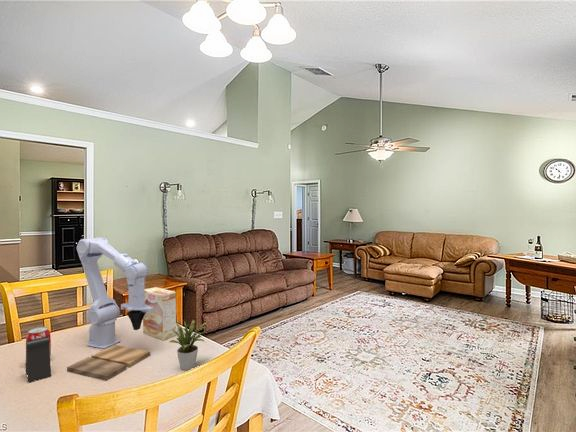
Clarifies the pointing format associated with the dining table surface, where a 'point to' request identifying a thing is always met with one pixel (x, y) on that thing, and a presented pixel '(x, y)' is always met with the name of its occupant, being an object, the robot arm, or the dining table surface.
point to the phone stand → (38, 359)
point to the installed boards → (96, 368)
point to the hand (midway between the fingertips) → (136, 329)
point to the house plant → (187, 345)
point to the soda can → (39, 335)
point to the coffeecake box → (160, 313)
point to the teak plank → (122, 355)
